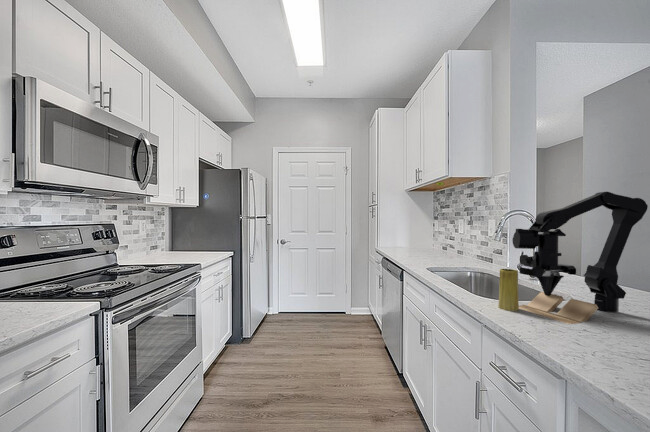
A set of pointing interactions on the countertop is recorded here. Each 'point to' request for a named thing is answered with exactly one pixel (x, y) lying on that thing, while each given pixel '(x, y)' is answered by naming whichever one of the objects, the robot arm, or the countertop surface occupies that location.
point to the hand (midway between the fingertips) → (547, 295)
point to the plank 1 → (546, 302)
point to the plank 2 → (578, 310)
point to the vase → (508, 290)
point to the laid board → (549, 315)
